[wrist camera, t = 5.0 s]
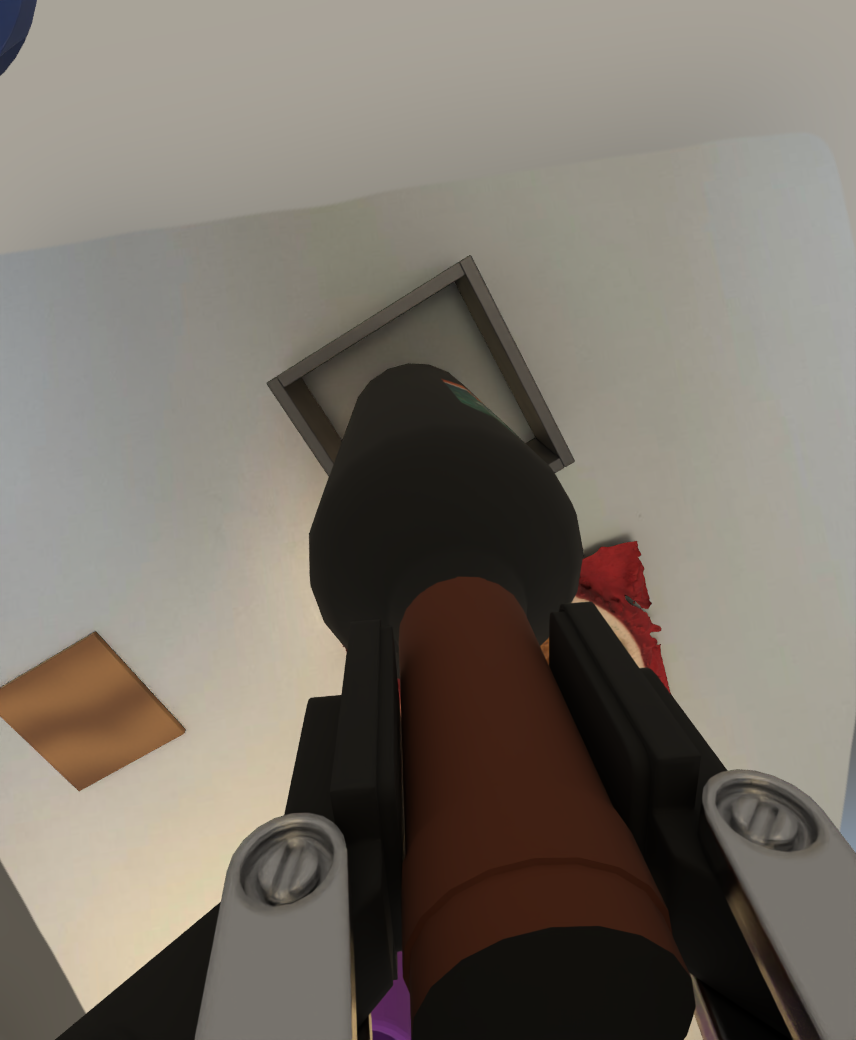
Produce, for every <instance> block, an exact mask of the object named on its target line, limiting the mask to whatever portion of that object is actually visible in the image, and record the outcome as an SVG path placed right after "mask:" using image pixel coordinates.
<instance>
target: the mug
mask: <svg viewBox="0 0 856 1040" xmlns="http://www.w3.org/2000/svg"><path fill="white" fill-rule="evenodd" d="M397 960H398V980H393V986H392V987H391V989H390V990H389V991H388V992H387V994H386V995H385V996H384V997H383V998H382V1000H381V1001H380V1002H379V1003H378V1005H377V1006H376V1007H375V1008H374V1009H373V1011H372V1012H371V1019H372V1037H373V1040H411V1014H410V993H409V991H408V989H407V986H406V984H405V982H404V979H403V970H402V951H399V952H397Z"/></svg>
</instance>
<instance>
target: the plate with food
mask: <svg viewBox="0 0 856 1040" xmlns="http://www.w3.org/2000/svg"><path fill="white" fill-rule="evenodd" d="M637 542H638V541H634V542H627V543H622V544H618V545H615V546H612V547H600V548H599V550H598V551H597V552H596V553H595V554H593V555H591V556H589V557H586V558H584V559H583V560H582V566H581V572H580V578H579V585H578V591H577V593H576V595H575V597H574V599H573V601H572V603H577V602H589V601H590V602H593V603H594V604H595V606H596V607H597V609H598V610H599V612H600V613H601V614H602V616H603V617H604V619H605V620H606V621H607V623H608V624H609V626H610V627H611V628H612V630H613V631H614V633H615V634H616V636H617V637H618V638H619V640H620V641H621V643H622V644H623V645H624V647H625V648H626V650H627V651H628V653H629V654H630V655H631V657H632V658H633V660H634V661H635V662H636V664H637V665H638V667H639V668H645V667H647V668H650V669H651V670H652V671H653V672H654V673H655V674H656V675H657V676H658V677H659V679H660V680H661V682H662V683H663V684H664V686H665V687H666V688H667V690H668V691H669V692H670V690H669V687H668V681H667V677H666V673H665V668H664V665H663V659H662V657H661V649H660V645H661V644H660V645H657V640H656V639H655V638H652V637H651V636H650V633H651V632H659V631H661V627H660V626H658V625H655V624H652V623H651V620H650V617H648V614H647V613H646V612H644V611H643V610H641V608H645V609H648V608H649V607H650V605H651V604H652V603H651V602H650V601H649V599H650V598H649V595H648V592H647V588H646V583H645V578H644V575H643V571H644V567H643V565H642V563H641V561H640V560H639V558H638V557H639V556H641V553H640V551H639V549H638V544H637ZM625 594H626V595H627V596H629V597H630V598H631V599H632V600H634V602H633V603H634V604H635V601H636V602H637V603H638V604H639V605H640V606H641V608H640V609H639V608H638V607H636V606H633V605H632V606H631V603H630V604H629V603H628V601H627V600H625V596H626V595H625ZM343 647H344V646H343ZM540 647H541V649H542V652H543V654H544V656H545V658H546V660H547V663H548V665H549V638H548V639H547V640H546V641H545V642H544V643H543V644H542V645H541V646H540ZM346 651H347V649H346ZM397 680H398V690H399V701H400V712H401V698H400V679H398V678H397ZM670 694H671V693H670Z"/></svg>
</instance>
